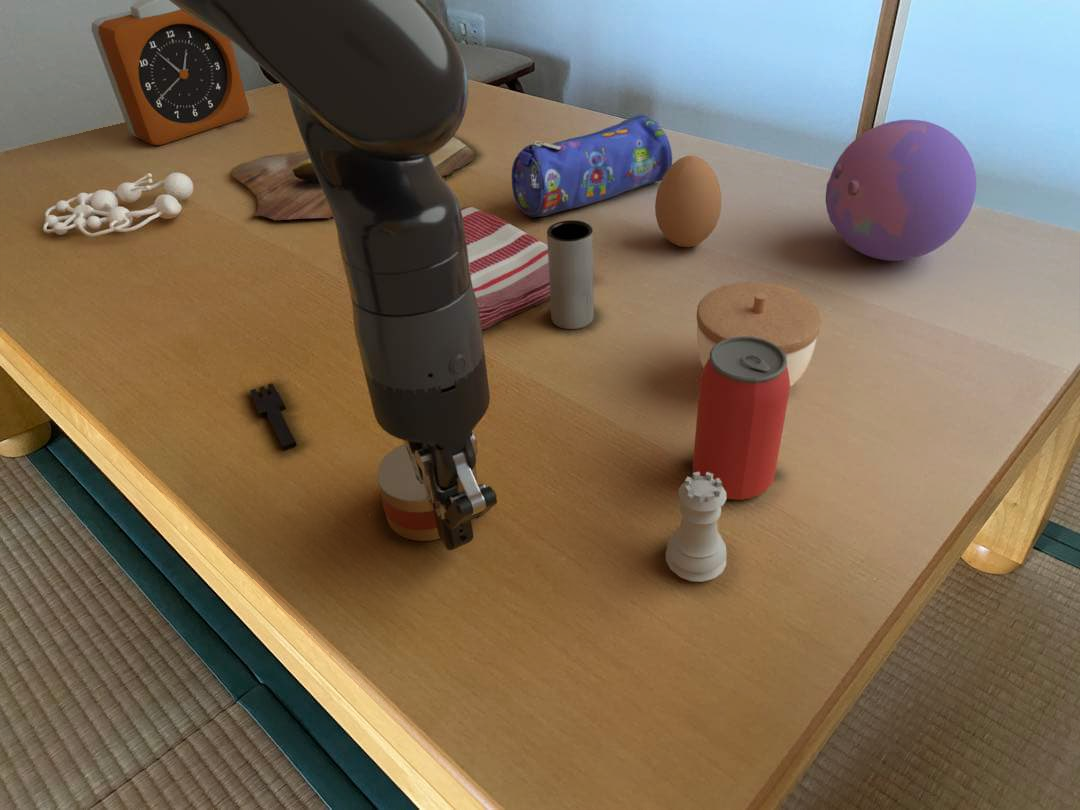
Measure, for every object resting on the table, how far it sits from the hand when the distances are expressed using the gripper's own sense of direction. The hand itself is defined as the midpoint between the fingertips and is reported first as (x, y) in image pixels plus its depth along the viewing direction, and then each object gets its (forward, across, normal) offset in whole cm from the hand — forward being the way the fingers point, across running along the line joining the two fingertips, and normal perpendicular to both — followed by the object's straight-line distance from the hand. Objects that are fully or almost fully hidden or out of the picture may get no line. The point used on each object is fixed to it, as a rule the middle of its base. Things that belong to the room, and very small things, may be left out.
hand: (456, 540), depth 61 cm
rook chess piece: (+2, +10, +15) cm, 18 cm away
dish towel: (+2, -39, +20) cm, 44 cm away
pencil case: (+2, -48, +41) cm, 63 cm away
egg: (+2, -31, +44) cm, 53 cm away
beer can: (+2, +4, +23) cm, 23 cm away
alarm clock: (+1, -112, 0) cm, 112 cm away
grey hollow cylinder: (+2, -24, +24) cm, 34 cm away
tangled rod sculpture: (+1, -78, -15) cm, 80 cm away
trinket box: (+2, -5, +32) cm, 33 cm away
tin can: (+2, -6, 0) cm, 6 cm away
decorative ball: (+2, -16, +61) cm, 64 cm away
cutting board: (+1, -76, +18) cm, 78 cm away
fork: (+2, -24, -8) cm, 26 cm away
